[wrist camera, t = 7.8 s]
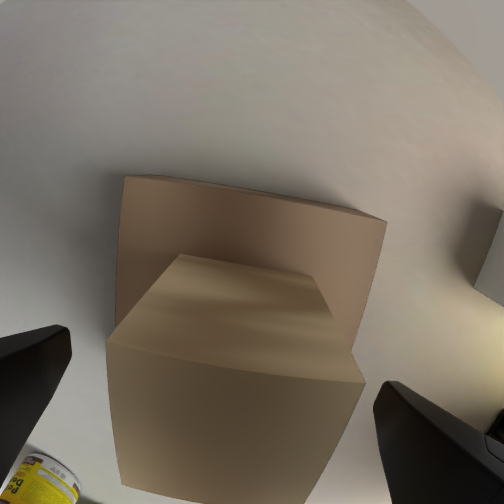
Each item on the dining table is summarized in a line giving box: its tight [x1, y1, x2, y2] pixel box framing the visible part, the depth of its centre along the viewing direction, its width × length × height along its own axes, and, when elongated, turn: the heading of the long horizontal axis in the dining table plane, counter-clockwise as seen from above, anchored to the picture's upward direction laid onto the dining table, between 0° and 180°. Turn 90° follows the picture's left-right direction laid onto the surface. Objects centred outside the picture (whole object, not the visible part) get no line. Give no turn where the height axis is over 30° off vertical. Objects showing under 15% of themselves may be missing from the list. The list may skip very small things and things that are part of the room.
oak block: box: [106, 254, 366, 504], centre depth 8 cm, size 4×4×6 cm
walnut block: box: [115, 175, 387, 351], centre depth 13 cm, size 9×9×3 cm
